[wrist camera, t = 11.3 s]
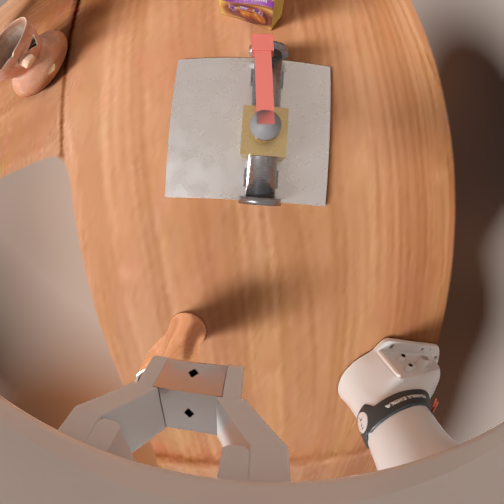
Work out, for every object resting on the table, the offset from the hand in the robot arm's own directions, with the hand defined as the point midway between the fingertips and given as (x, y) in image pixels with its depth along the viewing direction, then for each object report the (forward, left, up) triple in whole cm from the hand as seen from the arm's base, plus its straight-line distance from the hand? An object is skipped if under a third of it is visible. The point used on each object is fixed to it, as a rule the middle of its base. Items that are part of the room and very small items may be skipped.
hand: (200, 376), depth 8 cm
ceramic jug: (+41, -32, -31) cm, 60 cm away
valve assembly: (0, -15, -30) cm, 34 cm away
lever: (-2, -18, -22) cm, 29 cm away
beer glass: (+8, +16, -30) cm, 35 cm away
